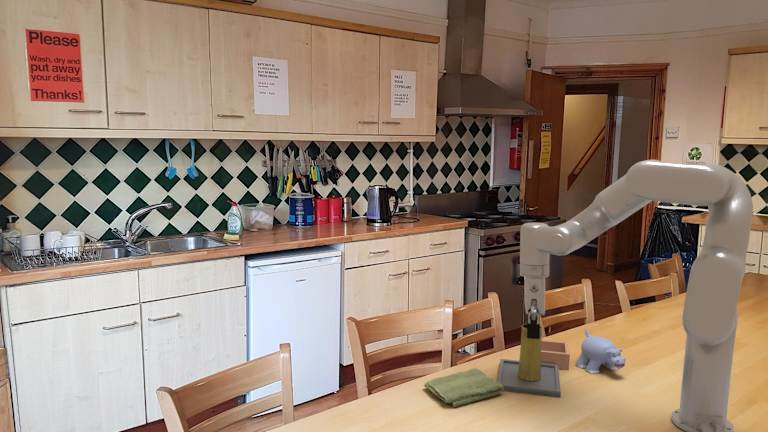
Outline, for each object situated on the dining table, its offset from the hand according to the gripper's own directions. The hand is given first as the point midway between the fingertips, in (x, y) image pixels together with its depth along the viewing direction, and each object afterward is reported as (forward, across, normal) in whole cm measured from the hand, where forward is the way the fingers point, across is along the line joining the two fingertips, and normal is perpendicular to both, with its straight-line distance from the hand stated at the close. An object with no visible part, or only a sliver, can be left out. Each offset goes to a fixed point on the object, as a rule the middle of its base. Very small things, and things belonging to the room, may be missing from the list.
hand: (533, 332), depth 157 cm
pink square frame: (+13, +15, -5) cm, 21 cm away
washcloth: (+13, -12, +17) cm, 25 cm away
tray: (+13, 0, +1) cm, 13 cm away
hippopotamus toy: (+14, +14, -19) cm, 27 cm away
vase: (+13, 0, +1) cm, 13 cm away
